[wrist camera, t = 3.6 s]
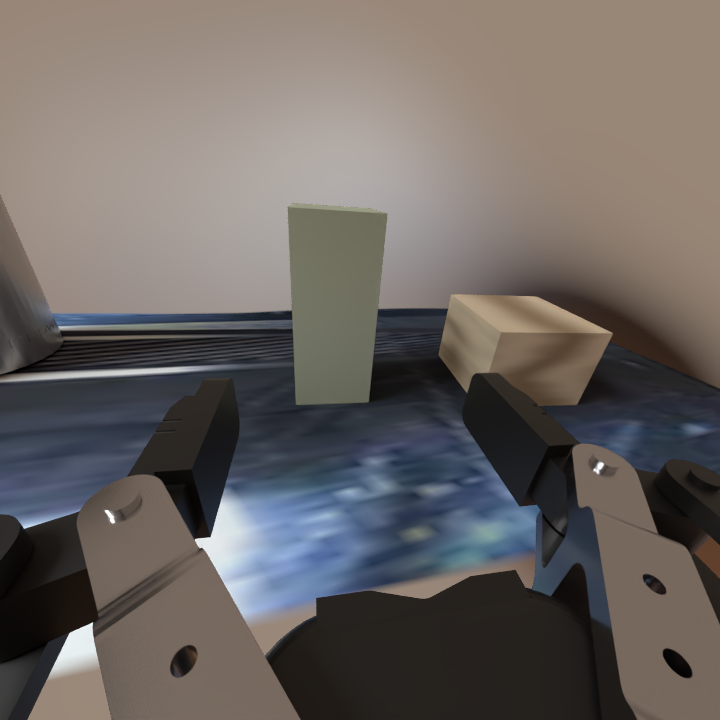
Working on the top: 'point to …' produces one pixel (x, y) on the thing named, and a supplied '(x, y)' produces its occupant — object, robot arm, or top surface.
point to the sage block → (334, 299)
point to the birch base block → (522, 345)
